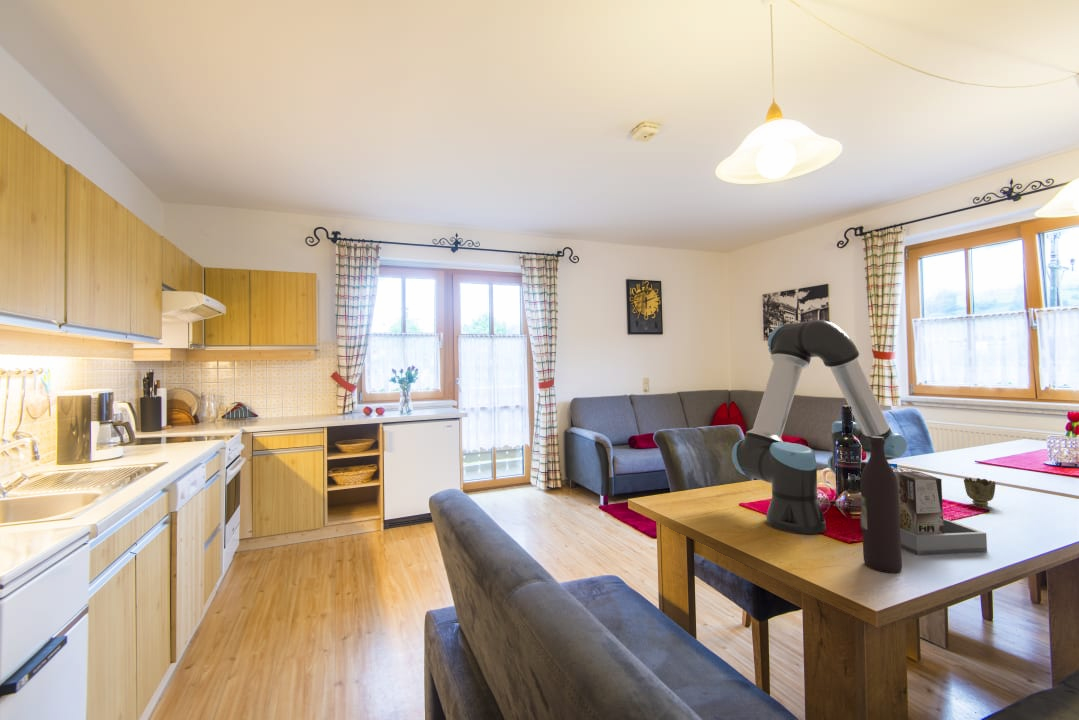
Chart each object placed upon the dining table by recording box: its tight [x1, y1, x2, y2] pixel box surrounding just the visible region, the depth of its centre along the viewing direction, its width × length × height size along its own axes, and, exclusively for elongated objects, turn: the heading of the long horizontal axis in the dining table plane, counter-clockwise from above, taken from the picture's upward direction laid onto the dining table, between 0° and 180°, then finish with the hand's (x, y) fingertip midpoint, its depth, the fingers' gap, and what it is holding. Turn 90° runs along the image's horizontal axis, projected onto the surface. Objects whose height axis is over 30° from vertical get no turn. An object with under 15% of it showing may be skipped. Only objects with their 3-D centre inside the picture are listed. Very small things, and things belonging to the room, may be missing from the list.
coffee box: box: [894, 470, 944, 535], centre depth 119 cm, size 9×6×16 cm
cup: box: [963, 477, 996, 507], centre depth 145 cm, size 8×7×8 cm
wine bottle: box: [860, 436, 903, 574], centre depth 104 cm, size 7×7×30 cm
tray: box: [859, 512, 988, 556], centre depth 119 cm, size 18×18×4 cm
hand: (906, 491), depth 124 cm, fingers open, 13 cm apart
